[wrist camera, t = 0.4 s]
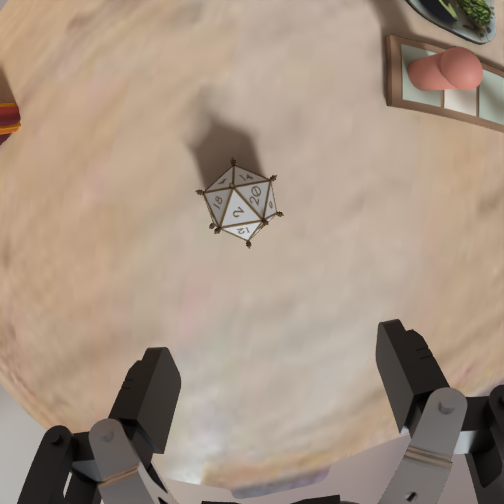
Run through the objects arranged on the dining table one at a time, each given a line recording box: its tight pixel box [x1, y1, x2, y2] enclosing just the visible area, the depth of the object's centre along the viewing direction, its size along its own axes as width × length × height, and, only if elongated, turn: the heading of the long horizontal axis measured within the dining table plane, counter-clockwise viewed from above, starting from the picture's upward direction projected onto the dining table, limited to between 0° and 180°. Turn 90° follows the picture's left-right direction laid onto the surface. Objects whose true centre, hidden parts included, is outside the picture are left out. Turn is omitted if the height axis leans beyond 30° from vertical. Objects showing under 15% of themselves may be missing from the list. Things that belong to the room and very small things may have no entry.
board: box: [386, 35, 504, 133], centre depth 28 cm, size 9×26×2 cm, turn 91°
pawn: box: [408, 47, 483, 91], centre depth 22 cm, size 4×4×11 cm
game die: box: [196, 157, 284, 249], centre depth 33 cm, size 9×8×10 cm
